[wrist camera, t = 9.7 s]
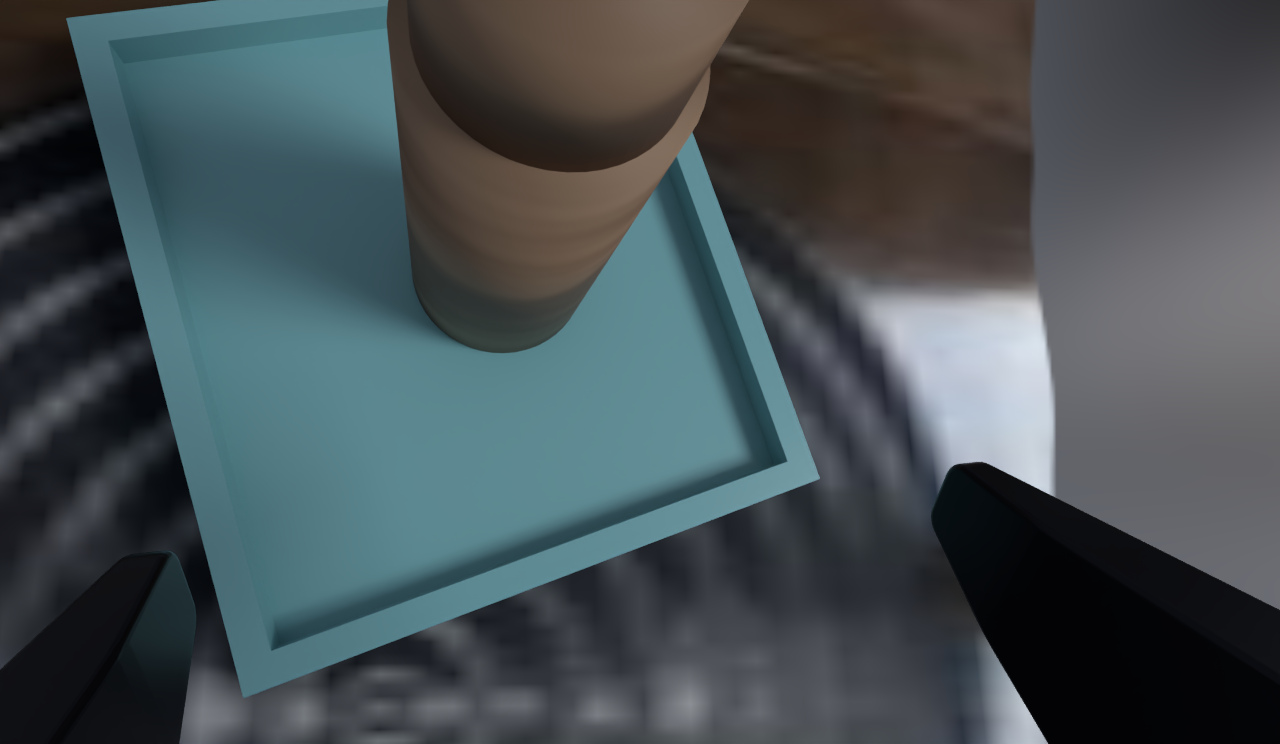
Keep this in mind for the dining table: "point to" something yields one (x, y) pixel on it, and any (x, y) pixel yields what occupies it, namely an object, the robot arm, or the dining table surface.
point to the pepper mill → (537, 145)
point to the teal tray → (399, 347)
